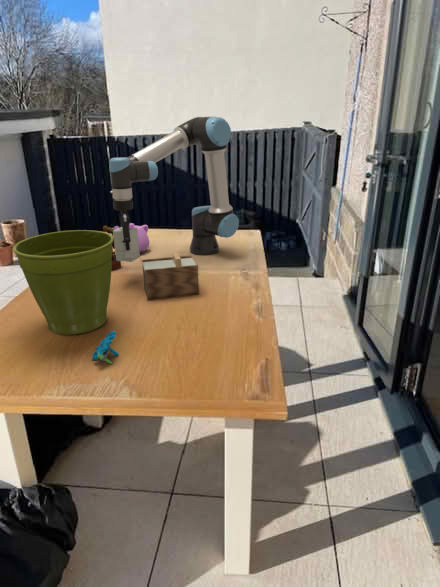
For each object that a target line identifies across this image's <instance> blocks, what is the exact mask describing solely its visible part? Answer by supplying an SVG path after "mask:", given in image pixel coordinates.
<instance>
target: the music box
mask: <svg viewBox="0 0 440 587" xmlns="http://www.w3.org/2000/svg"><path fill="white" fill-rule="evenodd" d="M102 229H103V232H105V233H108V234H111V235H112V236H113V231H114V230H115V228H114V227H113V228H112V227H110V226H109V227H108V225H103V227H102ZM113 249H114V250H113ZM121 268H122V261H116V254H115V245H114V236H113V242H112V267H111V272H113V271H117V270H119V269H121Z"/></svg>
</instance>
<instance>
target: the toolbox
mask: <svg viewBox="0 0 440 587" xmlns="http://www.w3.org/2000/svg"><path fill="white" fill-rule="evenodd" d="M180 258H181V259H184V258H192V259H193V255H183V256H182V255H181V256H180ZM172 259H173V256H170V257H160V258H158V257H157V258H148V259H142V262H150V261H161V260H172ZM141 265H142V272H143V274H142V275H143V285H144V286H143V287H144V290H145V291H144V292H145V295H146V298H147V301H149V300H151V301H152V300H158V299H159V300H160V299H171V298H178V297H186V296H195V295H196V296H198V295H200V292H199V290H200V289H199V288H200V285H199V284H200V282H199V265H198V264H196V265H191V266H180V267H169V268H158V269H147V270H145V271H144V267H143V263H142V264H141Z"/></svg>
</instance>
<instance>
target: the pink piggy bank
mask: <svg viewBox="0 0 440 587" xmlns="http://www.w3.org/2000/svg"><path fill="white" fill-rule="evenodd" d="M129 227H131V228H137V231H138V242H139V253H142V254H143V253H147V251H146V250H147V249H148V248H149V246H150V238H149V236H148V231H149V226H148V225H147V224H143V225H135V223H132V222H130V225H129ZM118 228H120V226H118V225H115V226H113V229H115V230H116V229H118Z"/></svg>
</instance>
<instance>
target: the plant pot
mask: <svg viewBox="0 0 440 587" xmlns="http://www.w3.org/2000/svg"><path fill="white" fill-rule="evenodd" d="M113 237H114V236H112V234H109V233H107V232H106V231H105V232H104V231H102V230H101V231H100V230H99V231H98V230H92V229H91V230H87V229H83V230H81V229H77V230H76V229H75V230H74V229H73V230H61V231H60V230H59V231H54V232H48V233H42V234H39V235H38V234H37V235H35V236H31V237H27V238H25V239H23V240H21V241H18V242H17V243H15V244H14V246H13V247H12V249H13V250H12V251H13V252H14V254H15V255H16V257H17V260H18V264H19V267H20V269H21V270H22V272H23V275H24V277H25V280H26V282H27V285H28V287H29V289H30V291H31V293H32V294H31V295H32V296H33V298H34V300H35V302H36V303H37V306H38V308H39V310H40V311H41V314H42V315H43V316H44V318H45V320H46V323H47V326H48V327H47V328H48V329H49V330H50V331H51V332H52V333H54V334H58V335H65V336H67V335H69V336H70V335H71V336H73V335H81V334H84V333H89V332H92V331H94V330H96V329H98V328H100V327H101V326H103V325H104V324H105V322H106V321H107V319H108V312H107V311H108V310H107V309H108V305H109V297H110V291H111V283H112V282H111V279H112V271H111V267H112V248H113V247H112V242H113Z"/></svg>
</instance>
